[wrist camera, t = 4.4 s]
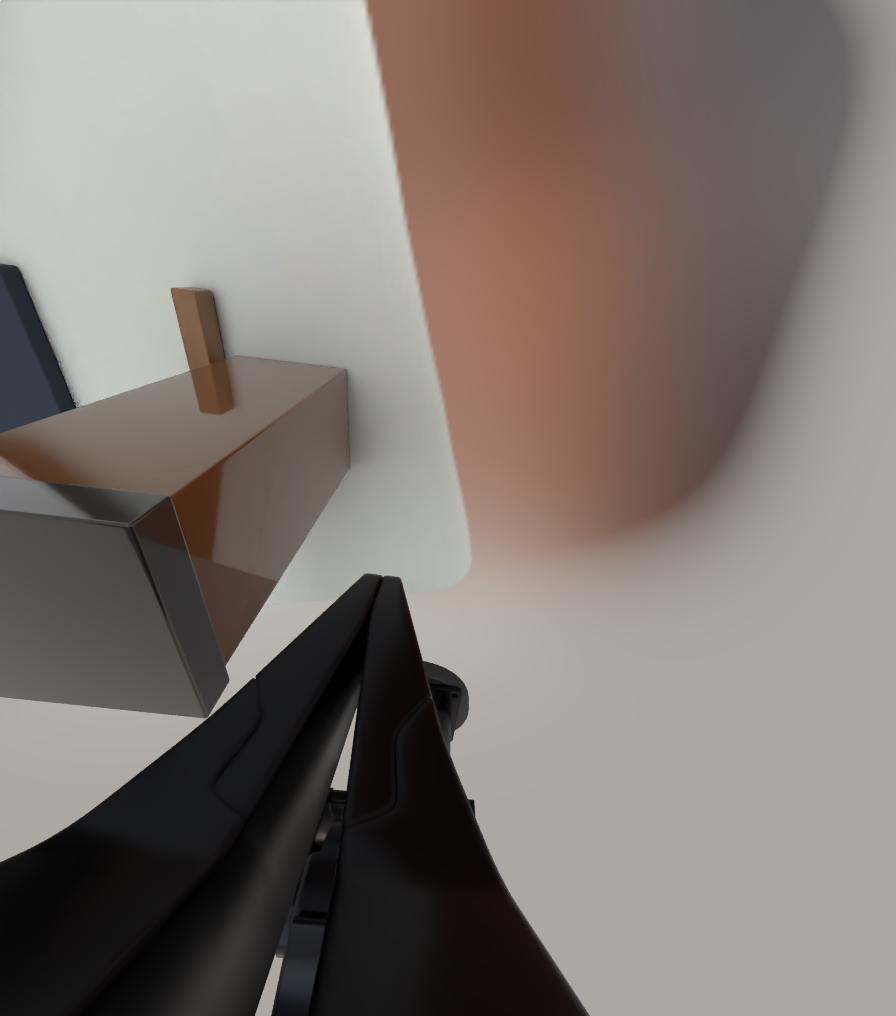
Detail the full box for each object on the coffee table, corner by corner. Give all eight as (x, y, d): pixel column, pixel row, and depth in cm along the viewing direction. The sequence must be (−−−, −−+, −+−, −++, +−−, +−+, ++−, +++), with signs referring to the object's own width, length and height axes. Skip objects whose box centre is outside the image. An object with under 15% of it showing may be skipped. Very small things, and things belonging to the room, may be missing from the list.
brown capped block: (353, 472, 20) (207, 719, 9) (250, 460, 20) (-32, 695, 9) (351, 364, 17) (129, 526, 6) (230, 349, 17) (-229, 485, 6)
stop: (252, 497, 21) (240, 508, 20) (234, 495, 21) (222, 506, 20) (212, 289, 16) (194, 290, 15) (188, 286, 16) (168, 287, 15)
